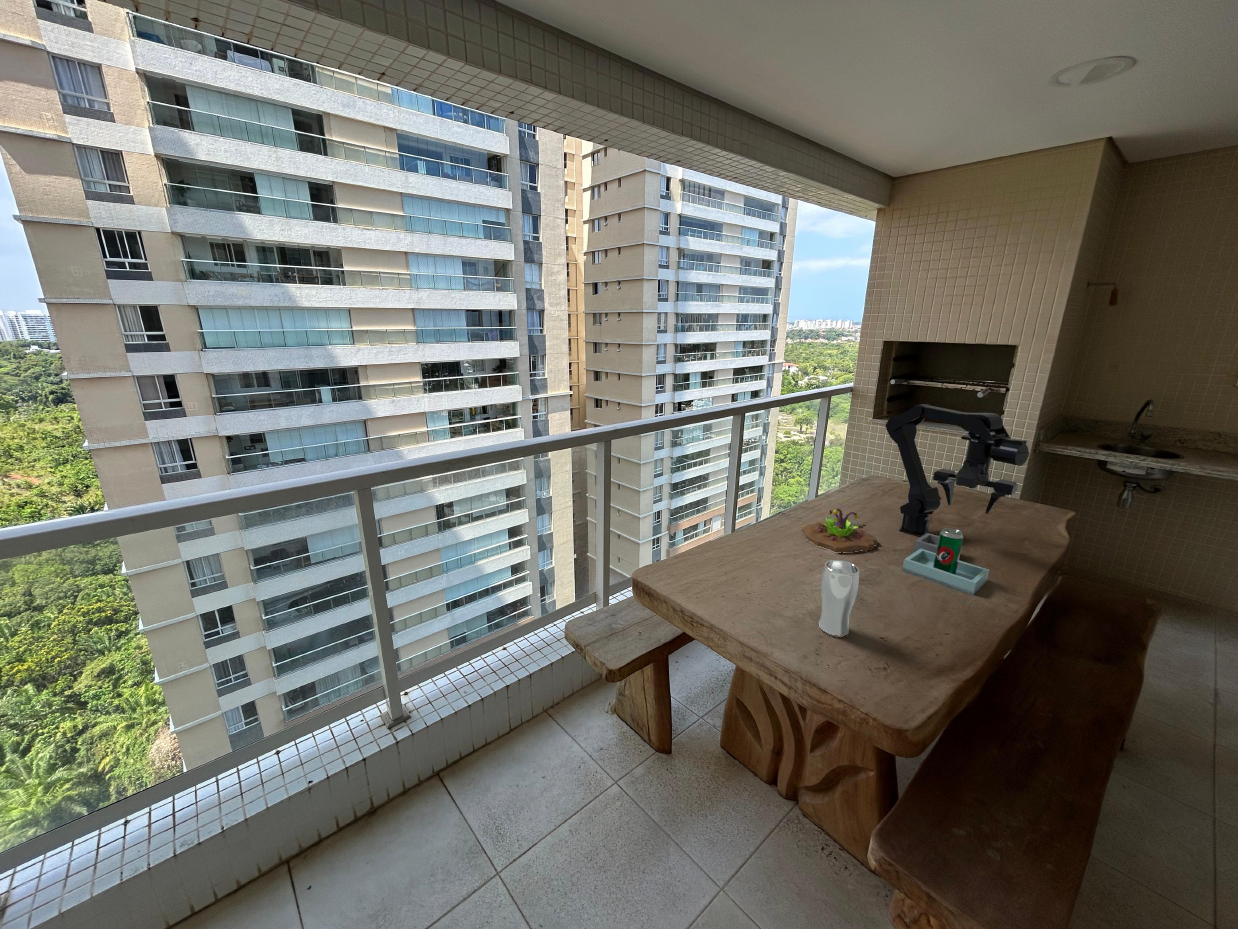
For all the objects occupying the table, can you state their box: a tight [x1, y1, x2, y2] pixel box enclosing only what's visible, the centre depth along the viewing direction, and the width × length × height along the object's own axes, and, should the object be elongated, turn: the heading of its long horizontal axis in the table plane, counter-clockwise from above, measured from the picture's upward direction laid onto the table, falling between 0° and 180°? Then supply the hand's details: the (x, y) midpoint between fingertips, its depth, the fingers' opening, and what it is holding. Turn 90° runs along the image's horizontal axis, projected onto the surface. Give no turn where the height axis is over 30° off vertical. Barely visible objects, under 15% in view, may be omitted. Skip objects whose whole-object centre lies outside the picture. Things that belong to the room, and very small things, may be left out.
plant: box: [801, 508, 878, 553], centre depth 142 cm, size 20×20×11 cm
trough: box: [902, 549, 990, 596], centre depth 120 cm, size 16×11×3 cm
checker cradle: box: [912, 532, 939, 554], centre depth 133 cm, size 9×9×4 cm
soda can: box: [933, 527, 965, 575], centre depth 119 cm, size 5×5×12 cm
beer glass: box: [818, 559, 860, 636], centre depth 97 cm, size 7×7×15 cm
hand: (967, 509), depth 133 cm, fingers open, 9 cm apart
